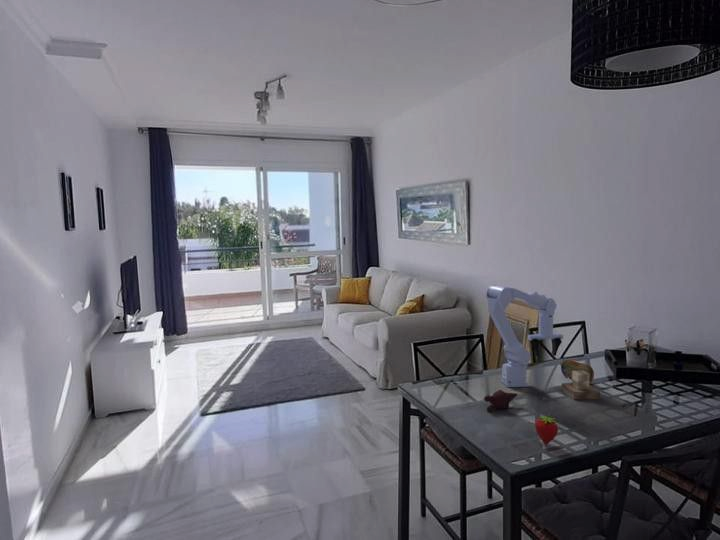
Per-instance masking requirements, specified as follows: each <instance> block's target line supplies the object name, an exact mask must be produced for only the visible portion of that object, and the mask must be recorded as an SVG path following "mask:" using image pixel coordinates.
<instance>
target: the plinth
mask: <svg viewBox="0 0 720 540" xmlns="http://www.w3.org/2000/svg"><path fill="white" fill-rule="evenodd" d="M562 390H563V391H564V392H565V393H564V394H566V395H567V394H568V395H569V396H568V395H567V396H568V397H569V398H571V397H572V398H573V399H572V398H571V399H572V400H574V399H580V400H600V395H601V394H600V392H601V391H600V390H598V389H597V388H595V387H594V386H593V385H591V384H589V389H579V390H578V389H576V388H575V387H573V386H572V382H564V383H562V382H561V391H562ZM563 391H562V392H563Z"/></svg>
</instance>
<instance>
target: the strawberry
mask: <svg viewBox="0 0 720 540" xmlns="http://www.w3.org/2000/svg"><path fill="white" fill-rule="evenodd" d="M549 415H550V413H548V414H547V416H546V415H545V416H543V415H542V416H540V415H539V417H540V418H537V419H536V420H535V423H534V427H535V432H536V433H537V435H538V437H539V438H540V439H541V441H542V443H543V444H544V445H548V444H549V443H551V442H552V441H554V439H555V438H556V437H557V435H558V432H559V429H558V427H559V426H558V425H557V423H556V421H555V420H556V418H552V417H549Z"/></svg>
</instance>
